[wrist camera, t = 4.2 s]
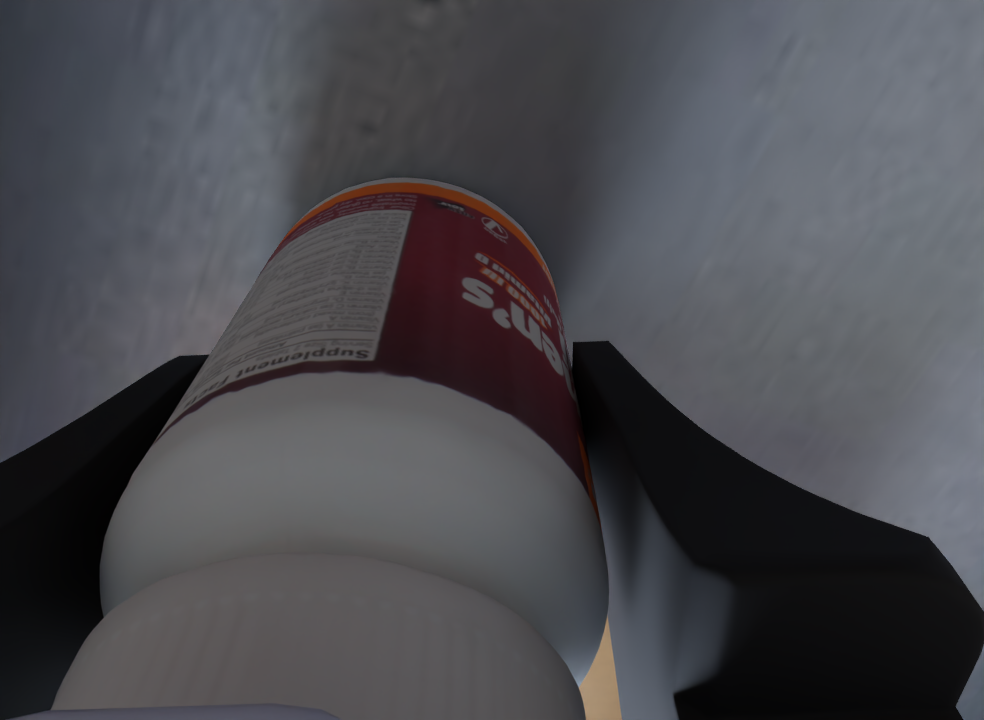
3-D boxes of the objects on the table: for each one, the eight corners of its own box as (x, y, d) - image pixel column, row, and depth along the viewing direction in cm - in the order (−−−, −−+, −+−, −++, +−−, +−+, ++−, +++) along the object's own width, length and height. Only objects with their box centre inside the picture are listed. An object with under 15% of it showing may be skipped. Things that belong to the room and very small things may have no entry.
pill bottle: (602, 355, 17) (774, 979, 7) (373, 461, 18) (246, 1097, 8) (465, 108, 14) (425, 569, 4) (206, 257, 15) (-278, 859, 5)
